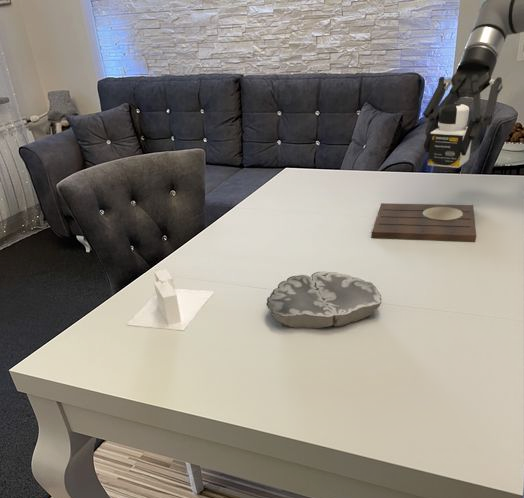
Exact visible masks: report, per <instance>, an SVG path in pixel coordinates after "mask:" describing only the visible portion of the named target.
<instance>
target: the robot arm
mask: <svg viewBox="0 0 524 498" xmlns="http://www.w3.org/2000/svg"><path fill="white" fill-rule="evenodd" d="M520 33H524V0H483V2H482V3H481V5H480V7H479V9H478V13H477V17H476V18H475V22H474V24H473V28H472V30H471V32H470V35H469V37H468V40H467V42H466V44H465V47H464V49H463V52H462V54H461V55H462V56H461V58H460V60H459V63H458V65H457V67H456V70H455V71H456V72H455V73H454V74H453V75H452V76H451V77H450V78H445V77H444V76H441V77H439V78H438V81H437V87H436V88H435V90H434V92H433V94H432V96H431V98H430V100H429V102H428V104H427V105H426V107H425V109H424V111H423V113H422V114H423V118H424V122H425V123H427V125H426V128H425V131H424V132H425V136H426V138H425V140H424V143H423V148H424V150H425V153H429V143H430V133H431V132H432V131H434V130H436V129H437V128H439V126H438V121H439V111H440V108H441V107H443V106H445V105H448V104H456V103H457V102H458V101H459V100H460V99H461V98H470V99H471V98H472V99H473V115H474V117H473V118H474V120H469V122H468V124H467V127H468V128H467V131H466V133H465V136H464V139H463V141H462V144H461V146H460V150H461V154H462V155H466V152H467V150H468V147H469V144H470V142H471V143H472V141H476V139H477V138H478V136H479V133H480V130H481V128H483V126H487V127H489V126H491V125H492V123H493V120H494V115H495V111H496V105H497V101H498V96H499V94H500V92H501V91H502V90H503V88H504V87H503V79H502V77H500V76H498V77H496V78H492V76H493V73H494V71H495V67H496V65H497V61H498V60H499V56H500V55H501V52H502V49H503V46H504V44H505V43H506V42H505V41H506V39H507V37H508V36H509V35H516V34H517V35H518V34H520ZM450 86H452V87H451V88H450ZM488 87H489V89H490V90H489V94H488V99H487V103H486V108H485V112H484V115H482V104H481V103H482V102H481V99H482V98H481V93H482V92H483V91H485V89H486V90H487V88H488ZM449 88H450V89H449ZM448 90H449V92H448V93H447V95H446V96H445V93H446V91H448Z"/></svg>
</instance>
